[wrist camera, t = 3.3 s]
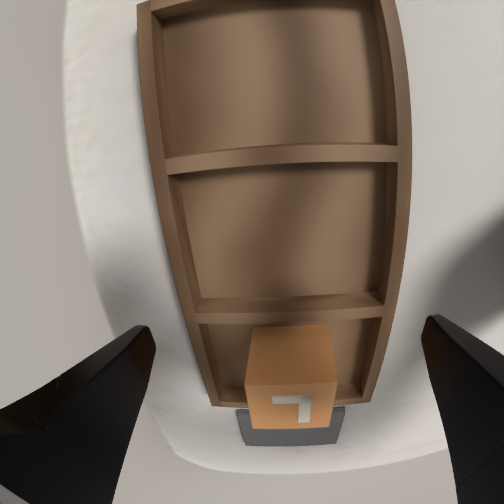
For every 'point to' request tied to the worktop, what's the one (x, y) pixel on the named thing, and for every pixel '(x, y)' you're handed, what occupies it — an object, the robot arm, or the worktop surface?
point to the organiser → (280, 174)
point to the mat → (291, 432)
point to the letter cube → (290, 377)
